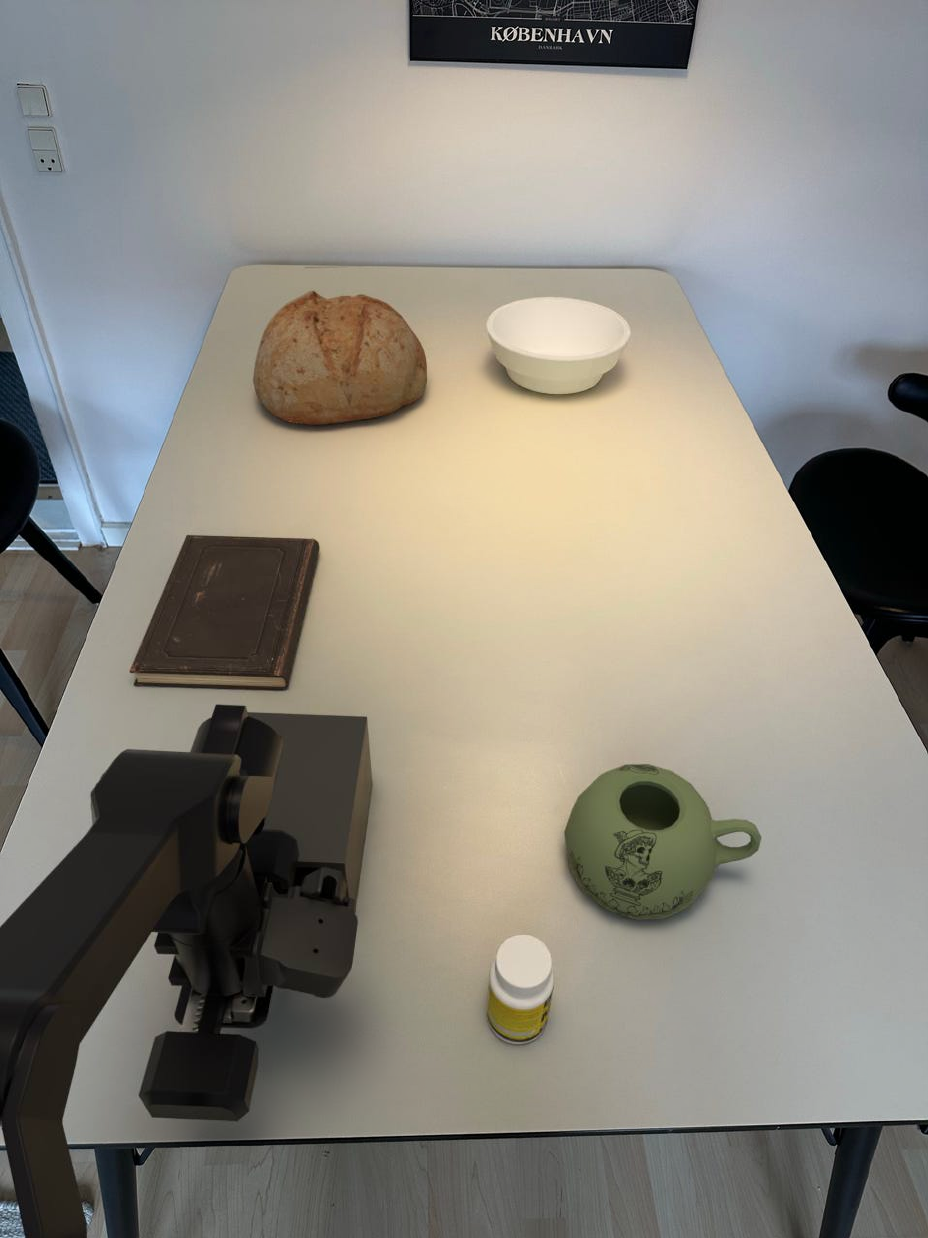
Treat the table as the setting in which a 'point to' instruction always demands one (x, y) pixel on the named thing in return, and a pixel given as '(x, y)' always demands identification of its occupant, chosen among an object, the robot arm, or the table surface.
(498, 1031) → the supplement bottle
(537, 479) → the table surface
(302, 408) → the bread
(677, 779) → the mug
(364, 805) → the cabinet
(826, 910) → the table surface
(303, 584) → the hardcover book
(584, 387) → the bowl
